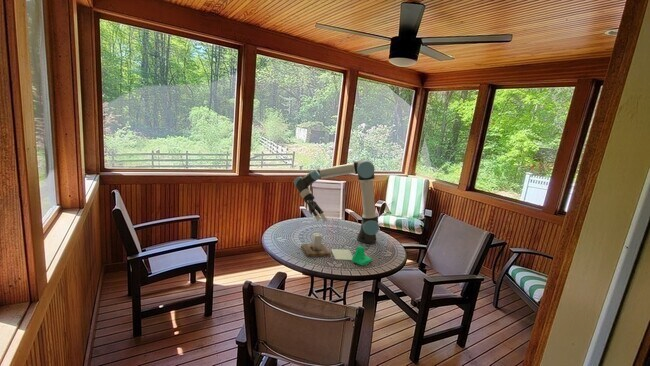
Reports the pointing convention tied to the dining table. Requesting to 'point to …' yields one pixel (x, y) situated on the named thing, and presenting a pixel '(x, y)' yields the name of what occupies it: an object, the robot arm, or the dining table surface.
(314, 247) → the aluminium post
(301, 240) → the dining table surface
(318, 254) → the walnut socket
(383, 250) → the dining table surface
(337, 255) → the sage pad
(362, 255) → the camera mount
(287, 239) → the dining table surface
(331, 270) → the dining table surface
